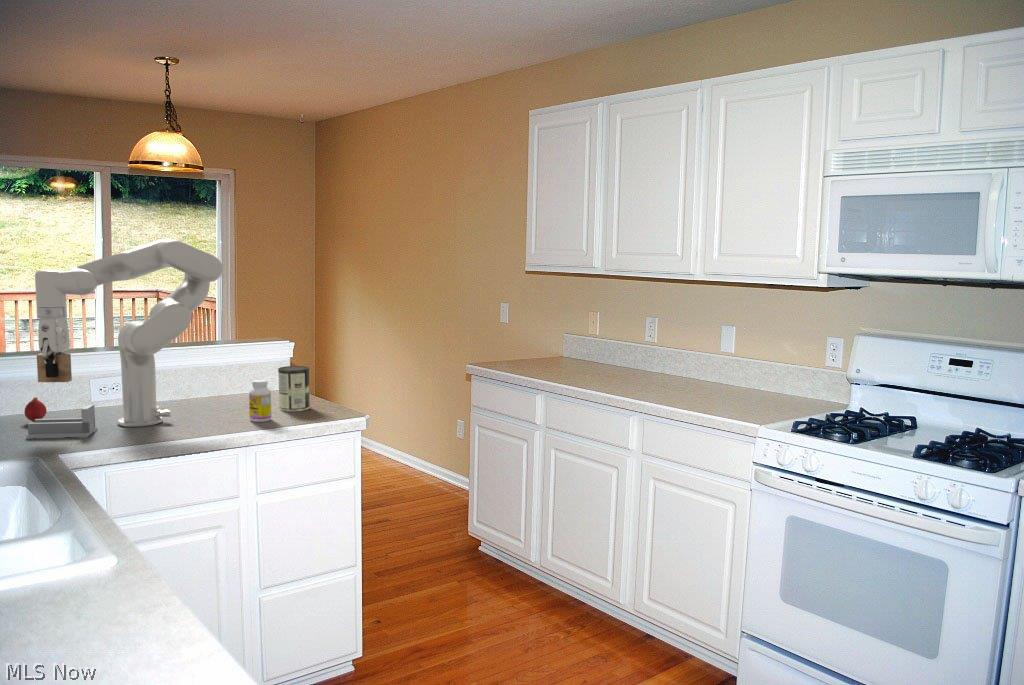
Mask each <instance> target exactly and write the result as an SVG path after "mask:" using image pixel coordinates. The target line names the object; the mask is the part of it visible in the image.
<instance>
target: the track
mask: <svg viewBox="0 0 1024 685" xmlns="http://www.w3.org/2000/svg"><path fill="white" fill-rule="evenodd" d="M97 430H98V426H96V416H95V404H88V405H86V406H83V408H81V417H79V418H78V417H77V418H74V417H73V418H71V417H70V418H42V419H35V423H34V422H28V423H27V434H26V435H25V439H26V440H29V439H30V440H31V439H32V440H33V438H36V439H65V437H78V438H88V437H89V436H91V435H92V434H94V433H95V432H96V431H97ZM93 432H94V433H93Z"/></svg>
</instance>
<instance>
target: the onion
mask: <svg viewBox="0 0 1024 685" xmlns="http://www.w3.org/2000/svg"><path fill="white" fill-rule="evenodd" d="M23 412H24V415H25V418H26V419H27V420H29V421H31V422H32V423H35V419H44V417H45V416H46V415H47V407H46V405H45V403H43V402H42V401H40V400H38V397H37V396H35V397H33V398H32V399H31V400H30V401H29V402H28V403H27V404H26V405H25V407H24V411H23Z"/></svg>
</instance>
